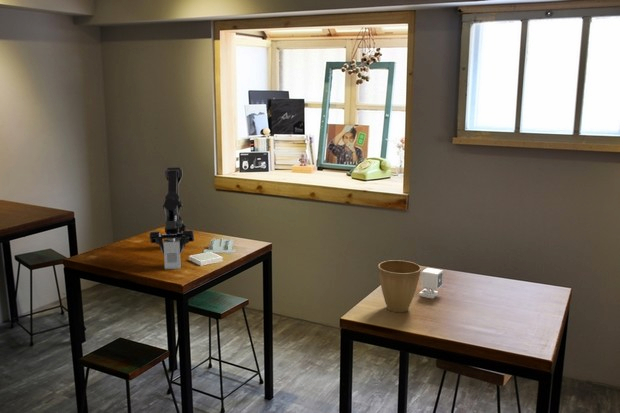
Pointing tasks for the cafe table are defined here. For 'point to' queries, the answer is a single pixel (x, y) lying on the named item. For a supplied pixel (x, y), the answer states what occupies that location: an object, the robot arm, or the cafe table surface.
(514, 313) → the cafe table surface
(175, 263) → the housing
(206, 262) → the plinth
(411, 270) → the plant pot
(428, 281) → the security camera
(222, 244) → the metal bracket
